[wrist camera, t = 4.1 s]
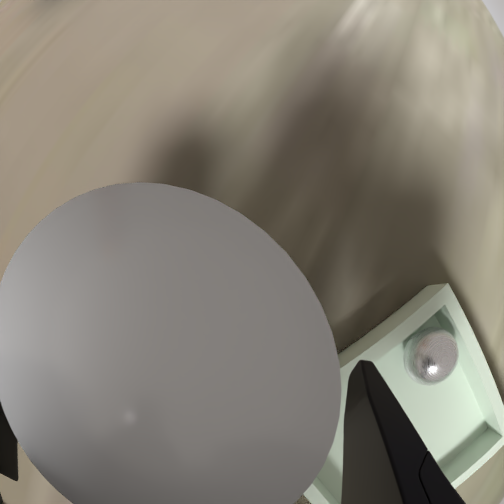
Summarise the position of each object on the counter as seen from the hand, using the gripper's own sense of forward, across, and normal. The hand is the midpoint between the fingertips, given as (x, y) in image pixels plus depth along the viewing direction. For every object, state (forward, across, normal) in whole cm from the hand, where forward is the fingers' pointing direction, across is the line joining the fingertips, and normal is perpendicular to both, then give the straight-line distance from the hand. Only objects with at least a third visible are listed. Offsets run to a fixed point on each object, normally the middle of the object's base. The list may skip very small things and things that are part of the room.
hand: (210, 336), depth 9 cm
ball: (+6, +11, -6) cm, 13 cm away
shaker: (+6, 0, -6) cm, 8 cm away
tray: (+2, +11, -9) cm, 14 cm away
